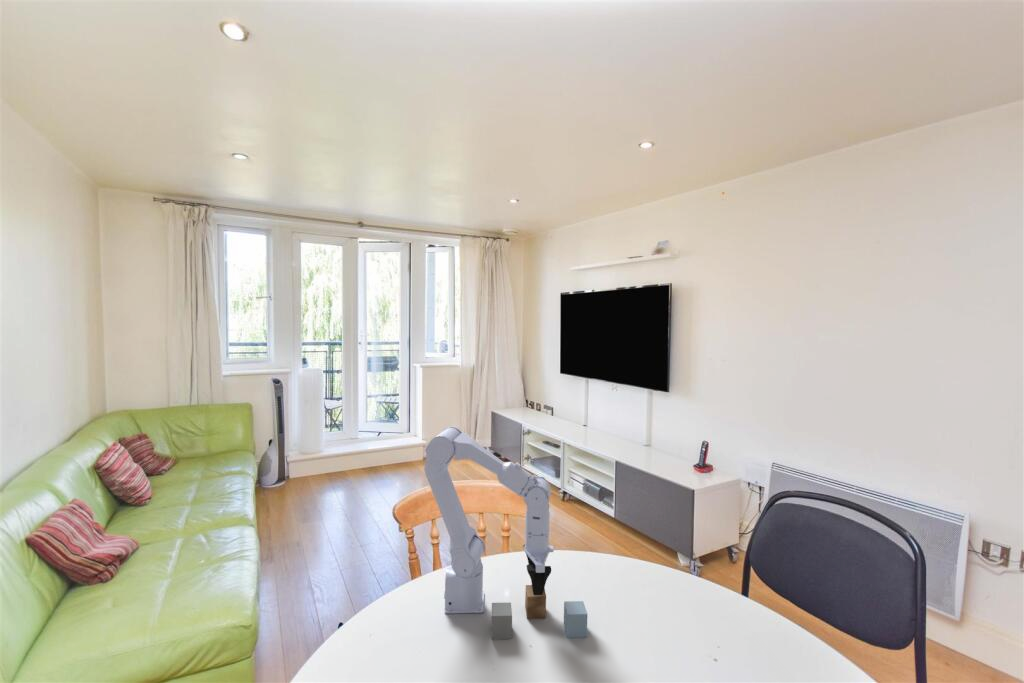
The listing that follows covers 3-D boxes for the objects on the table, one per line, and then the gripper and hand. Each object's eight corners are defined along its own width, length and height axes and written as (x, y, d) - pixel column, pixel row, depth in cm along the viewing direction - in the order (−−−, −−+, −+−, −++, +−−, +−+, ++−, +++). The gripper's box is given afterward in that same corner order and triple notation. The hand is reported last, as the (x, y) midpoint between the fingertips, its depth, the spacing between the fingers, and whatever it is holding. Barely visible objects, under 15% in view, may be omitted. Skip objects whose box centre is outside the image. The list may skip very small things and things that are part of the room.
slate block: (567, 637, 102) (567, 614, 101) (563, 623, 106) (564, 601, 106) (586, 637, 102) (587, 614, 101) (582, 623, 106) (583, 601, 106)
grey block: (491, 639, 101) (491, 616, 100) (491, 625, 105) (491, 602, 105) (511, 638, 101) (512, 615, 100) (510, 624, 105) (511, 602, 105)
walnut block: (526, 618, 108) (527, 596, 107) (525, 606, 112) (525, 585, 112) (545, 618, 108) (546, 596, 107) (543, 605, 112) (543, 584, 112)
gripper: (558, 545, 101) (557, 603, 102) (549, 515, 116) (548, 566, 117) (527, 546, 101) (526, 603, 102) (522, 516, 115) (521, 567, 116)
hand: (536, 584), depth 109 cm, fingers open, 7 cm apart
